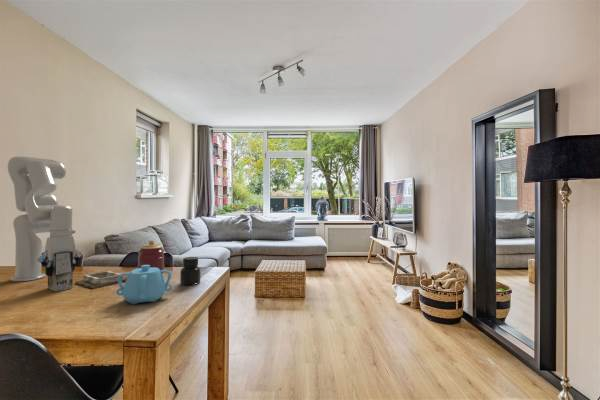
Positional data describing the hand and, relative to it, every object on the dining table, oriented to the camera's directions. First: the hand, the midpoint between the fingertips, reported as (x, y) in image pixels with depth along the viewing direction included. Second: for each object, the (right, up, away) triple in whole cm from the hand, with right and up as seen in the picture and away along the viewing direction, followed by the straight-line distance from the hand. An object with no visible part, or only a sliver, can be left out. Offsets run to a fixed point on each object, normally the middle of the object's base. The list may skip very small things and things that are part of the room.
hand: (60, 273), depth 129 cm
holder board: (+12, -7, +10) cm, 17 cm away
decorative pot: (+44, -7, -13) cm, 47 cm away
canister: (+25, -7, +29) cm, 39 cm away
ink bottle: (+54, -7, +10) cm, 55 cm away
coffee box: (0, -7, 0) cm, 7 cm away
